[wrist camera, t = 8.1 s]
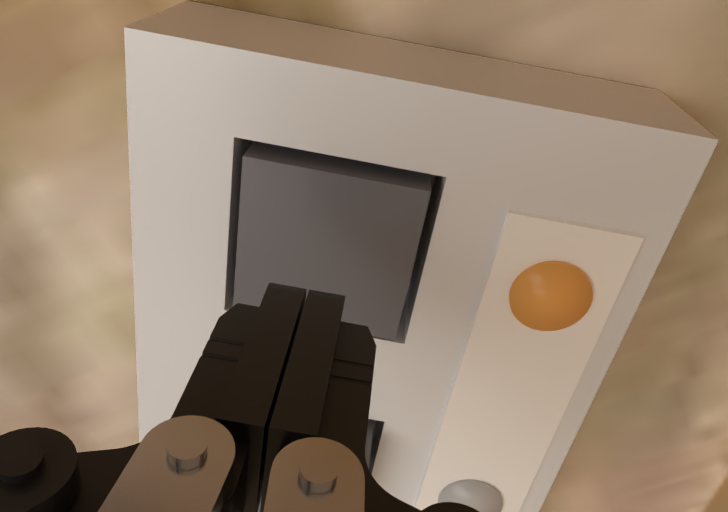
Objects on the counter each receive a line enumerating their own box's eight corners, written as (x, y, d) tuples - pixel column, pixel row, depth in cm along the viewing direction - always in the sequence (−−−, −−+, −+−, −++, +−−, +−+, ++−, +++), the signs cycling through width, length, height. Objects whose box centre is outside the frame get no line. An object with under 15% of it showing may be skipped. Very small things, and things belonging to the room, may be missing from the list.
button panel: (187, 0, 17) (117, 30, 13) (659, 89, 17) (726, 145, 13) (179, 553, 29) (143, 649, 26) (446, 603, 29) (449, 706, 26)
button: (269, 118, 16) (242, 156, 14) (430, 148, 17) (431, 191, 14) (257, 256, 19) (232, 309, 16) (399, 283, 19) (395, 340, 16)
